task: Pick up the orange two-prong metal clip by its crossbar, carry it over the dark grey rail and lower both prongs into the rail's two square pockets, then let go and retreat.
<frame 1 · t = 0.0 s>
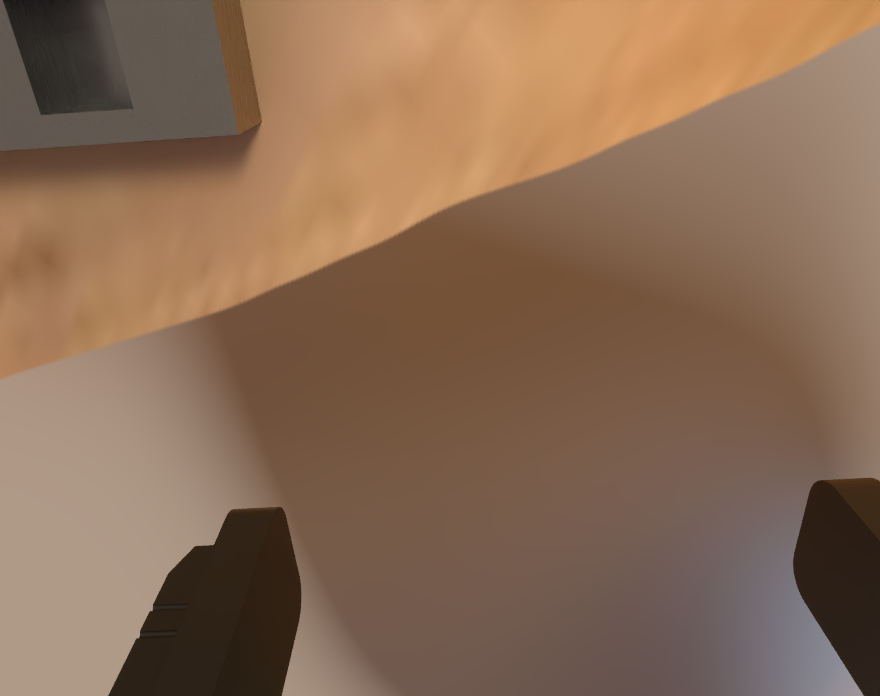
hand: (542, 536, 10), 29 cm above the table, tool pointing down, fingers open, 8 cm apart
rail: (39, 56, 33), on the table
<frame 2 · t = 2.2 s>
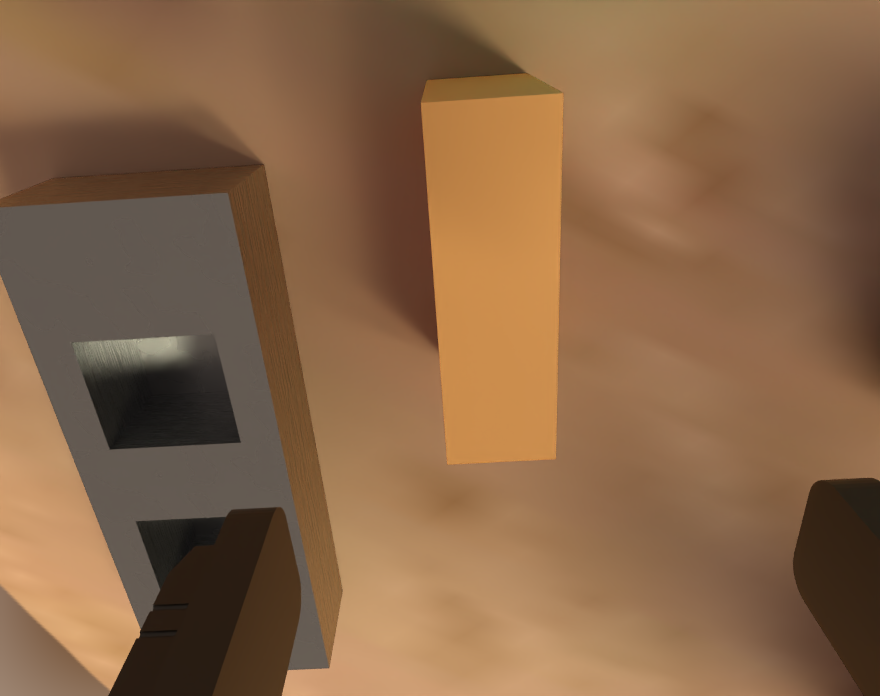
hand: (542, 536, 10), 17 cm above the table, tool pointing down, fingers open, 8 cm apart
rail: (221, 419, 29), on the table
clip: (482, 229, 25), on the table
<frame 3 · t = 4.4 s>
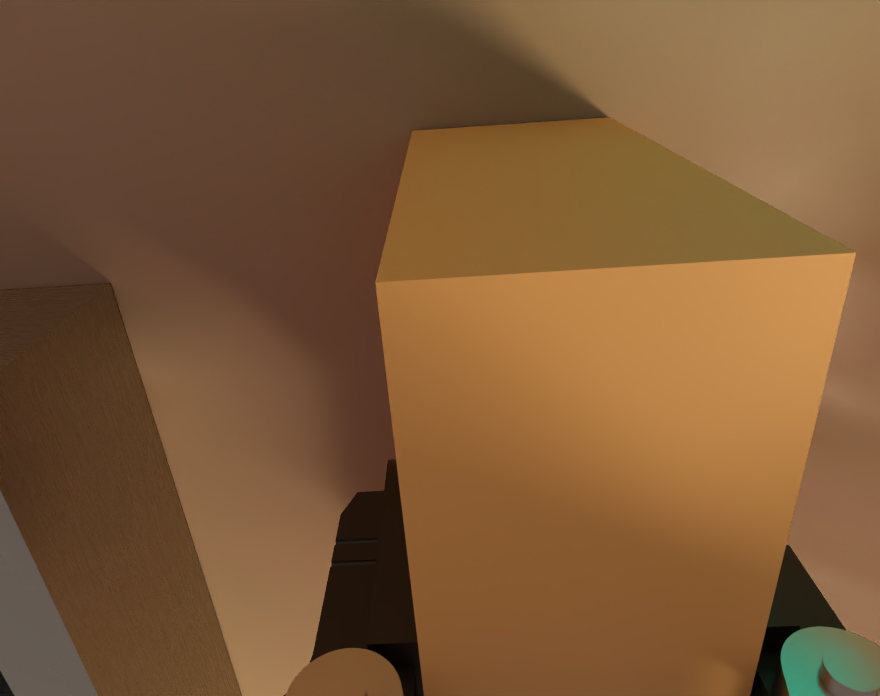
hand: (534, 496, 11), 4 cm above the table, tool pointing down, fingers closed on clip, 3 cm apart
rail: (86, 661, 18), on the table
clip: (514, 390, 14), on the table, touching gripper
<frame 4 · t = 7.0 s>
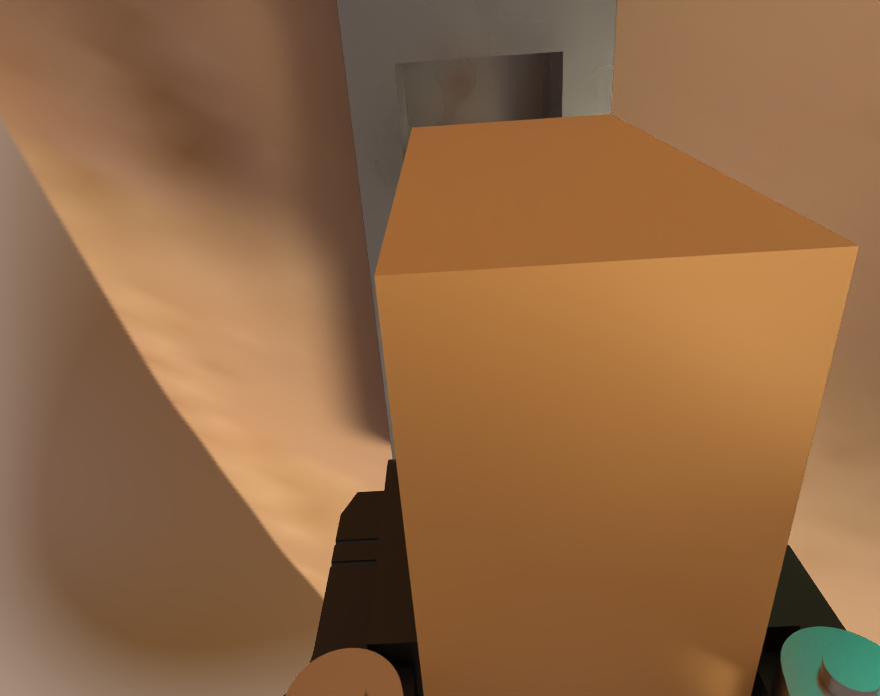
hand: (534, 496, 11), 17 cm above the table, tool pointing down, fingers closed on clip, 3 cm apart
rail: (478, 222, 26), on the table
clip: (514, 388, 14), point 13 cm above the table, touching gripper
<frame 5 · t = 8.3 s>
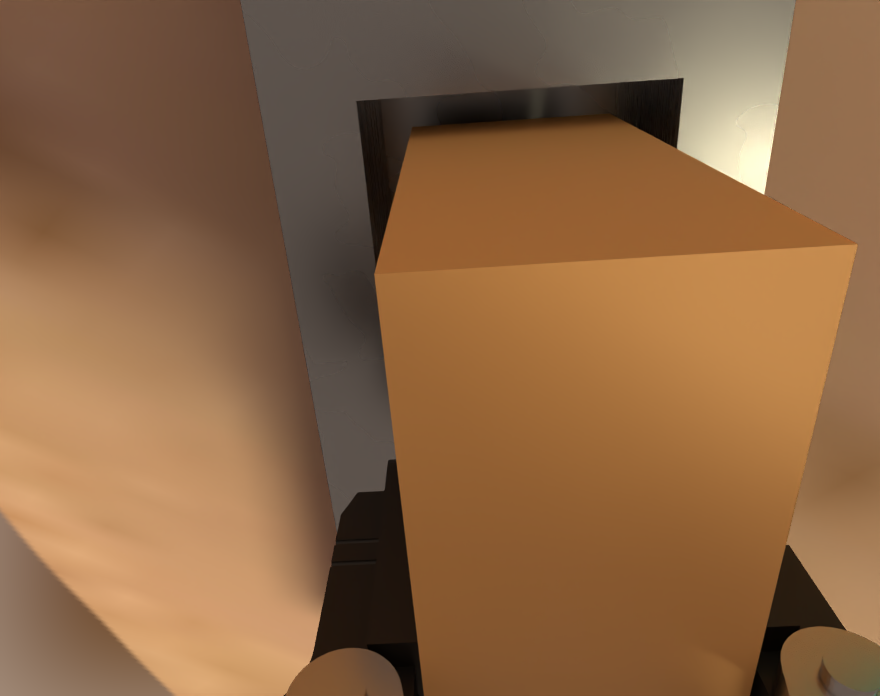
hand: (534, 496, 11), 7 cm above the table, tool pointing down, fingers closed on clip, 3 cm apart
rail: (502, 332, 17), on the table
clip: (514, 387, 14), point 3 cm above the table, touching gripper
when the fingers open (5 cm above the table, at t = 9.5 s): clip drops 1 cm, resting on rail.
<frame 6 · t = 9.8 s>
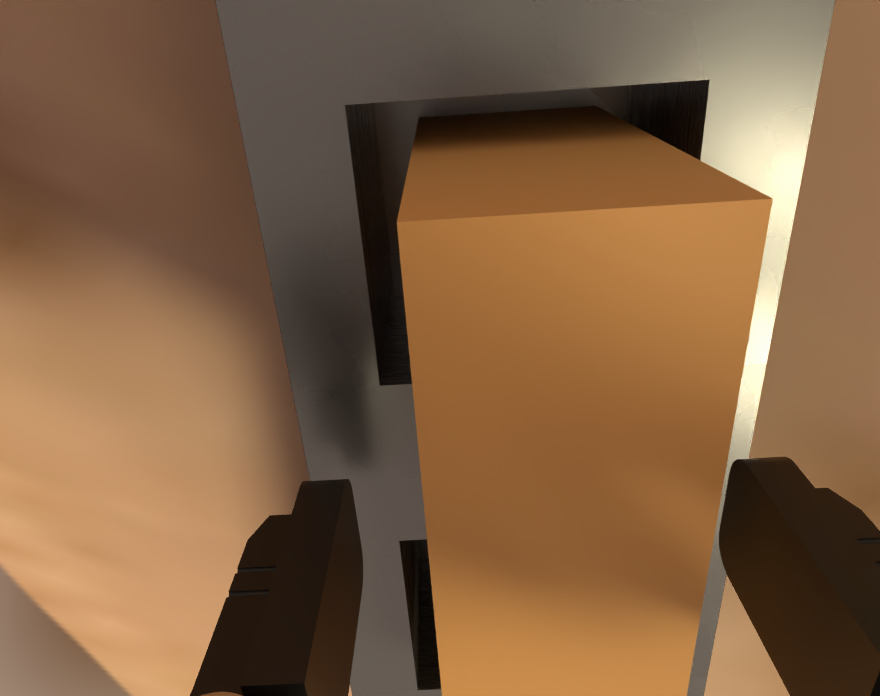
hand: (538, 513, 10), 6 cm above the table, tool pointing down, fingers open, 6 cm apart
rail: (504, 348, 16), on the table
clip: (510, 356, 15), resting on rail
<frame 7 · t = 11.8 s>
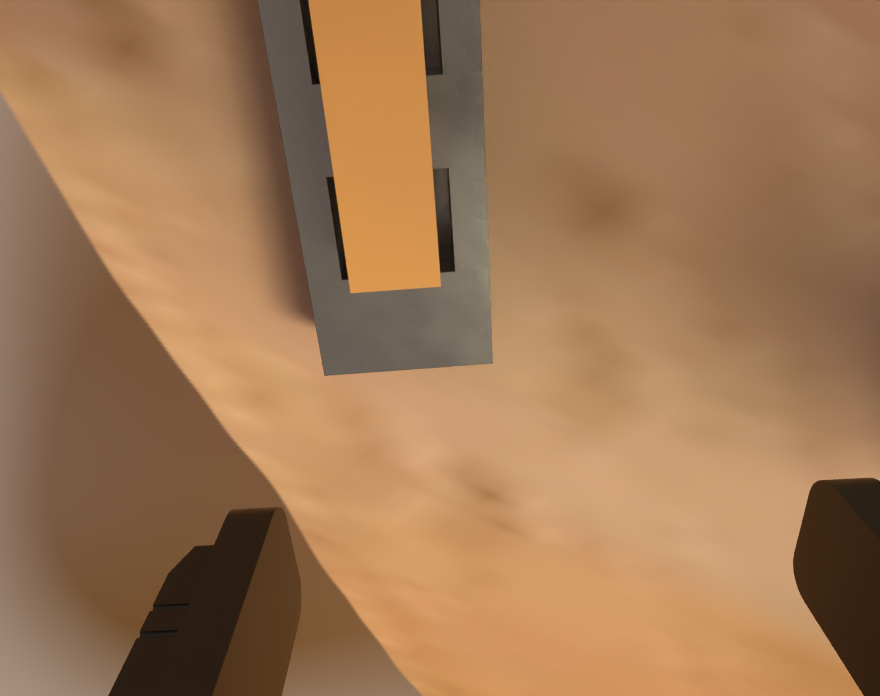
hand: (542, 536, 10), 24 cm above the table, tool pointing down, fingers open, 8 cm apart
rail: (387, 111, 29), on the table
clip: (389, 112, 29), resting on rail
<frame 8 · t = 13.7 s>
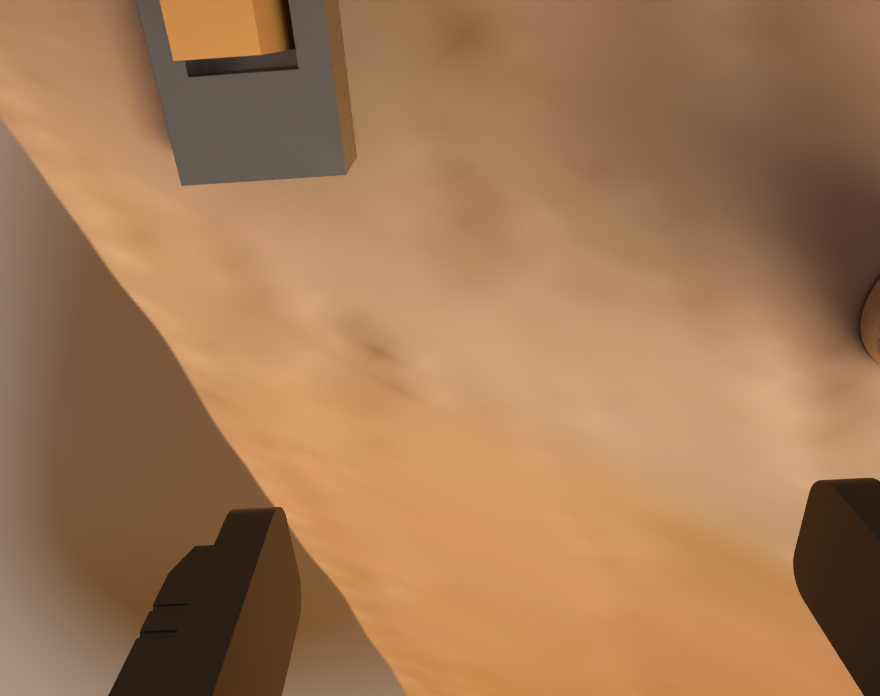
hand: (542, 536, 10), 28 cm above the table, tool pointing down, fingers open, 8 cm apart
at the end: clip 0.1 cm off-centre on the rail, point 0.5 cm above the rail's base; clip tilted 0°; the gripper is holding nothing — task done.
